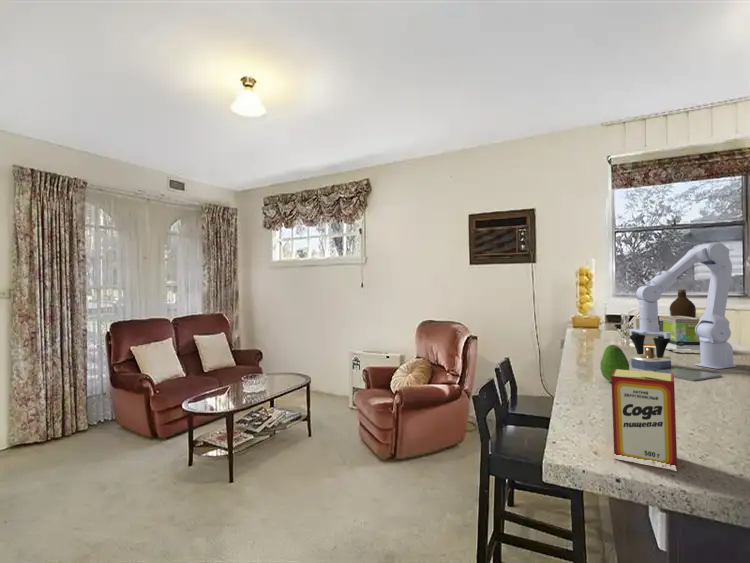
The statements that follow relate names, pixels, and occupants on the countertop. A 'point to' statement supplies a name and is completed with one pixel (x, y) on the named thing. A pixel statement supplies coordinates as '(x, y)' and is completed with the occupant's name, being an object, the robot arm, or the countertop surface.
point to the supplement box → (648, 339)
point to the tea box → (680, 331)
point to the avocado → (613, 361)
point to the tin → (650, 365)
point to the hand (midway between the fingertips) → (649, 355)
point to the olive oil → (682, 306)
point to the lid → (649, 356)
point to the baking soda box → (644, 415)
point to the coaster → (689, 374)
